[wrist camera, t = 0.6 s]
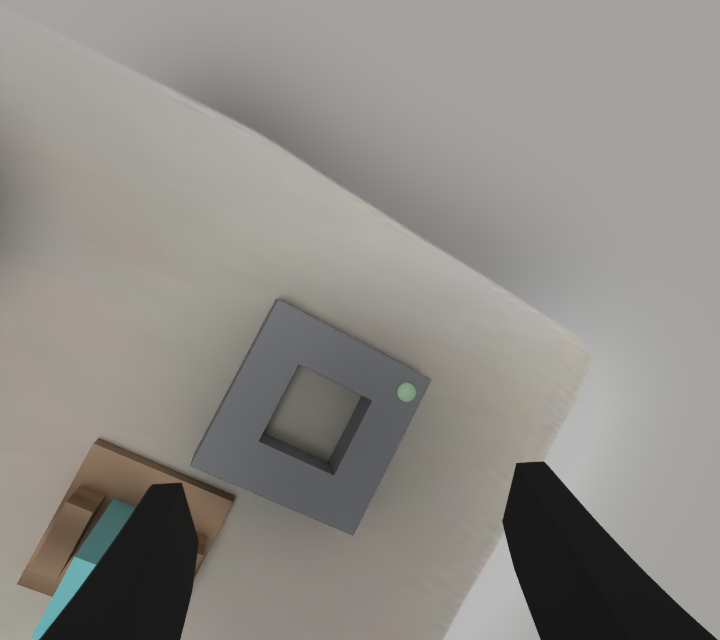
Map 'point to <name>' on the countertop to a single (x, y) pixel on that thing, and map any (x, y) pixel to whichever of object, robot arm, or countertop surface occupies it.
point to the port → (289, 465)
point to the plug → (85, 561)
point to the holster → (95, 493)
